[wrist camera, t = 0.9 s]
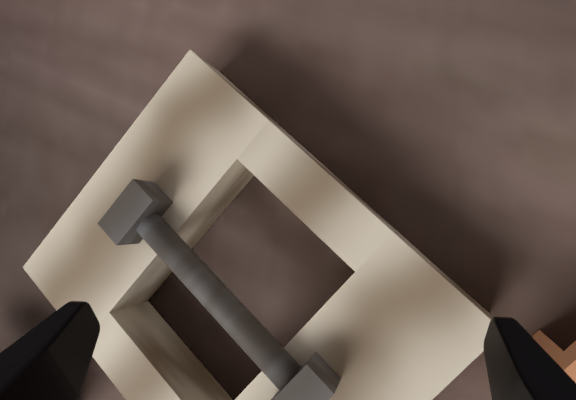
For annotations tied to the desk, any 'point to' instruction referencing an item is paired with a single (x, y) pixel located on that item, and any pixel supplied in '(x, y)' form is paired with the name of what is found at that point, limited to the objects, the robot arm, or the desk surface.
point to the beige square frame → (211, 290)
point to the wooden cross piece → (559, 353)
